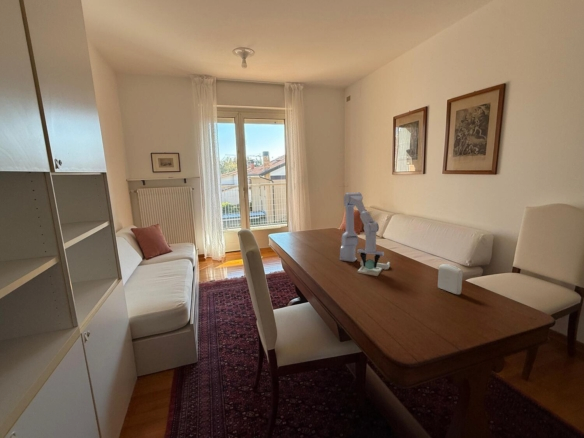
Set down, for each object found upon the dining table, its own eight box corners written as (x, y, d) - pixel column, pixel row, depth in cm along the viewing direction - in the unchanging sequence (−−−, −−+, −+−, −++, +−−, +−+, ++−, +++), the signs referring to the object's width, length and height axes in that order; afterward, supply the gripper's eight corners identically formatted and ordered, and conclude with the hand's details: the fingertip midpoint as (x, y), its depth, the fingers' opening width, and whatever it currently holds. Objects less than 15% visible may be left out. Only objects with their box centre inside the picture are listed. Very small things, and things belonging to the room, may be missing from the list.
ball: (363, 269, 149) (363, 260, 149) (366, 266, 154) (366, 257, 153) (373, 271, 147) (374, 261, 146) (376, 268, 151) (376, 258, 151)
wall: (360, 265, 160) (360, 260, 160) (362, 262, 165) (363, 258, 165) (387, 269, 152) (387, 264, 152) (389, 266, 157) (389, 262, 157)
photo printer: (435, 287, 127) (437, 262, 126) (441, 285, 129) (443, 261, 127) (456, 295, 118) (459, 269, 116) (462, 293, 120) (465, 267, 118)
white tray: (357, 272, 149) (357, 270, 148) (362, 266, 158) (362, 264, 158) (377, 276, 143) (377, 273, 143) (381, 269, 152) (381, 267, 152)
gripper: (355, 243, 148) (355, 266, 150) (382, 246, 141) (381, 270, 143) (359, 240, 154) (358, 263, 156) (385, 243, 147) (384, 266, 149)
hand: (369, 266), depth 150 cm, fingers closed on ball, 5 cm apart
